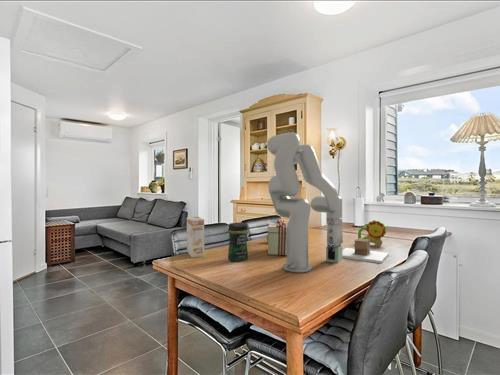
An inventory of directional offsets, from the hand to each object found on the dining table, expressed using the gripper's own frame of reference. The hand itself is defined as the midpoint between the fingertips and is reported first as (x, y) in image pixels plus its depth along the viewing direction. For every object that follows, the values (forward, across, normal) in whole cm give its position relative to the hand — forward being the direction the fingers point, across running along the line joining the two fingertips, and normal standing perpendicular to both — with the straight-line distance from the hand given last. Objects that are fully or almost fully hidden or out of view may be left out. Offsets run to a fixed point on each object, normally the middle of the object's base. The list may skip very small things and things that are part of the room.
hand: (334, 257), depth 141 cm
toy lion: (+2, +46, -7) cm, 46 cm away
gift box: (+2, +2, +29) cm, 29 cm away
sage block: (+2, 0, 0) cm, 2 cm away
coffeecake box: (+2, -29, +66) cm, 72 cm away
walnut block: (0, +16, -9) cm, 18 cm away
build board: (+2, +16, -9) cm, 18 cm away
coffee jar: (+2, -25, +40) cm, 47 cm away
